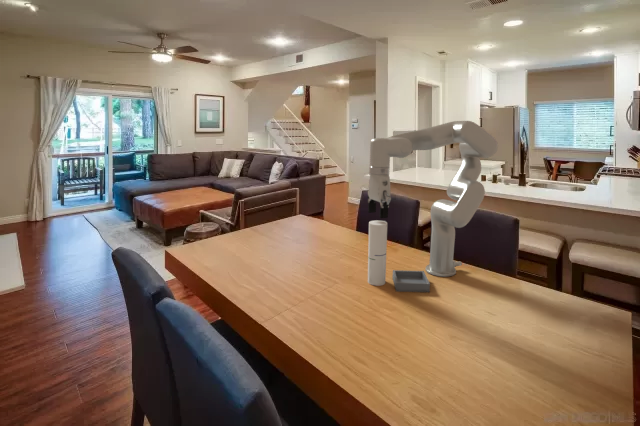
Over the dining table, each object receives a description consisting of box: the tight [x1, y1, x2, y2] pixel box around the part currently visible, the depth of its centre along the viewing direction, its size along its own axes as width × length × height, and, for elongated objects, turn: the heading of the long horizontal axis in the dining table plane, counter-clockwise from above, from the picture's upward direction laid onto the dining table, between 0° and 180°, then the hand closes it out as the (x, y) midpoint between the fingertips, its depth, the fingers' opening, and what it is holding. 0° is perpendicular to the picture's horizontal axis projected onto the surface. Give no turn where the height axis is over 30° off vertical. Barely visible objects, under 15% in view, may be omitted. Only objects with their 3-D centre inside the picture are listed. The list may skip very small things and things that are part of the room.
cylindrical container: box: [367, 219, 388, 287], centre depth 145 cm, size 7×7×25 cm
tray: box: [392, 269, 431, 293], centre depth 144 cm, size 13×13×4 cm
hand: (377, 215), depth 141 cm, fingers open, 9 cm apart
